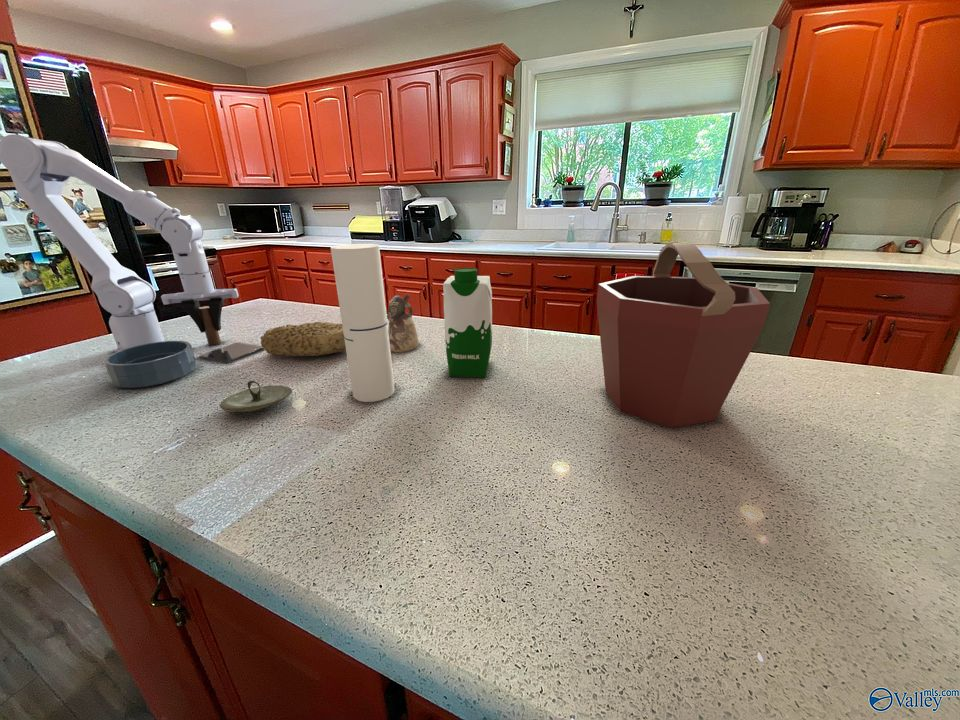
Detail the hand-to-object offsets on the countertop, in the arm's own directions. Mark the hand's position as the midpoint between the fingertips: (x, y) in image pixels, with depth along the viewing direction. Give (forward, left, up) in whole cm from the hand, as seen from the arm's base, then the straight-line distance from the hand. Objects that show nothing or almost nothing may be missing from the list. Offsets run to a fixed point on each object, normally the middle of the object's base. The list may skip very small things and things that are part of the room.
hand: (211, 330), depth 94 cm
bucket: (+98, +6, -4) cm, 98 cm away
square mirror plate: (+10, -3, -3) cm, 11 cm away
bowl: (+7, -17, -3) cm, 19 cm away
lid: (+37, -19, -4) cm, 42 cm away
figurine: (+44, +14, -4) cm, 46 cm away
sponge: (+28, +4, -4) cm, 29 cm away
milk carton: (+64, +7, -4) cm, 64 cm away
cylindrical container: (+52, -8, -4) cm, 53 cm away
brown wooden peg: (0, 0, -3) cm, 3 cm away
